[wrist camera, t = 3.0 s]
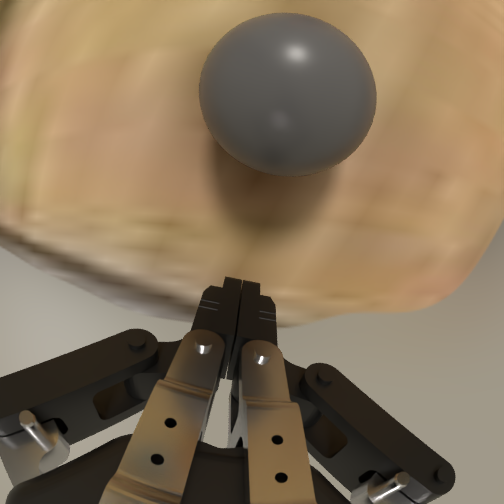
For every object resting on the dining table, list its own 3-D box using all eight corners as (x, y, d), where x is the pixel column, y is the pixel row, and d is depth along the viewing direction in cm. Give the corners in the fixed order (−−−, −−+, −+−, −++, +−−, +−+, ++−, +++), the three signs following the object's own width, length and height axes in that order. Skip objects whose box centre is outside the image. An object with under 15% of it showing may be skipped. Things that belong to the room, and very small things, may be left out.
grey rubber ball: (198, 66, 9) (149, 23, 4) (322, 32, 9) (361, -26, 4) (240, 181, 12) (222, 223, 7) (361, 147, 11) (429, 165, 6)
